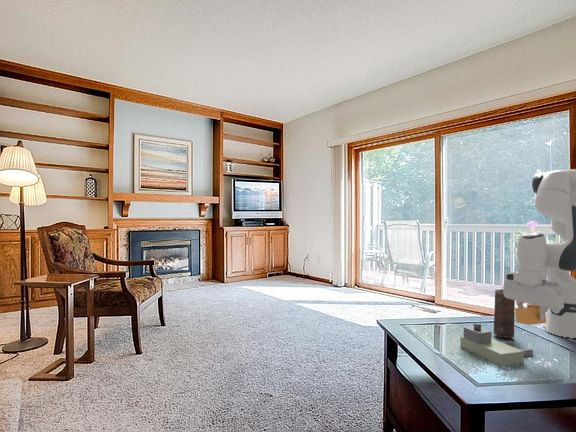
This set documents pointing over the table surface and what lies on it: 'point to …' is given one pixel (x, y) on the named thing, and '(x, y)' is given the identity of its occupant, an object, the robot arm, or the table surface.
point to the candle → (504, 315)
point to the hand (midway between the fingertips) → (531, 316)
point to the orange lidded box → (528, 315)
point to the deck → (492, 347)
